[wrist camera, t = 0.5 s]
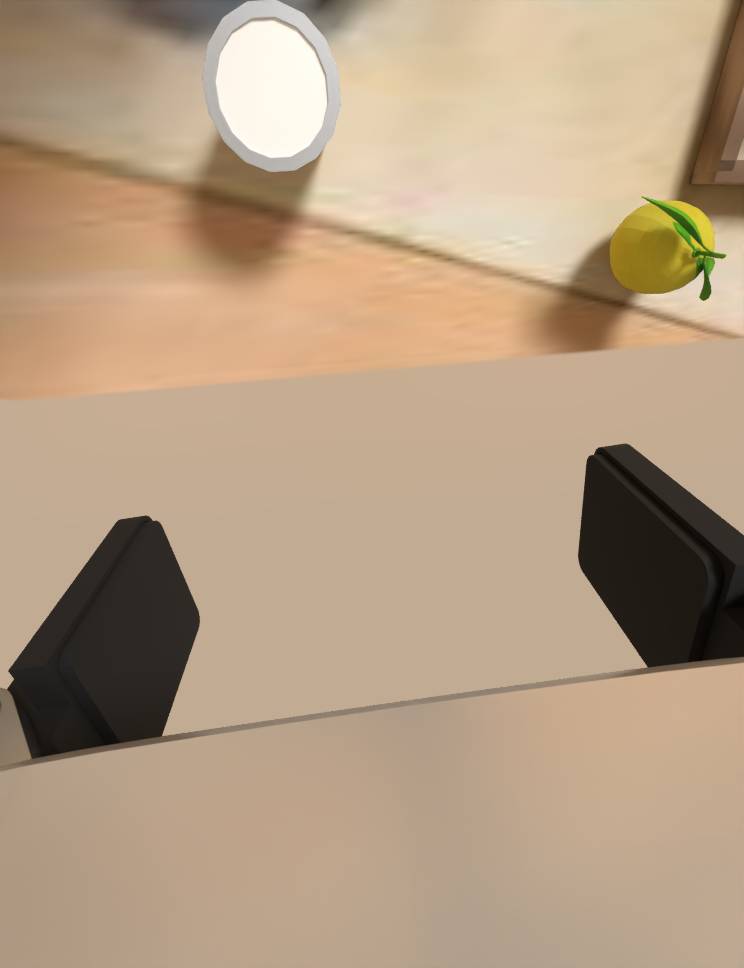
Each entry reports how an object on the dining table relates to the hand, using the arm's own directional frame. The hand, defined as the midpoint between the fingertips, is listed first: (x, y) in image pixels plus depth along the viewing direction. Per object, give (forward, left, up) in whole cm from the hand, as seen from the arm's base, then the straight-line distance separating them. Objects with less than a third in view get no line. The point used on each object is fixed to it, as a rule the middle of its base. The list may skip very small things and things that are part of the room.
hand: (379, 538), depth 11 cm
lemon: (-5, +20, -29) cm, 36 cm away
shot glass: (-12, -4, -30) cm, 32 cm away
